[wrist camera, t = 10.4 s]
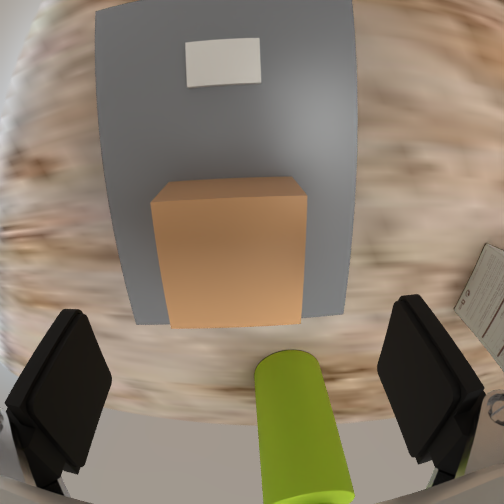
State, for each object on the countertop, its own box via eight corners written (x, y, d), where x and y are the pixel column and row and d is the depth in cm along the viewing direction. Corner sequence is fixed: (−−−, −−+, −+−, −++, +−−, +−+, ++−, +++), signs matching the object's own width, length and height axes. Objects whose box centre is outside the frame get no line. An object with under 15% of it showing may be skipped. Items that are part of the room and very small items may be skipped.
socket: (113, 22, 15) (90, 7, 11) (336, 9, 15) (356, -10, 12) (146, 300, 23) (133, 331, 20) (332, 291, 24) (346, 321, 20)
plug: (177, 172, 19) (150, 202, 13) (284, 167, 19) (307, 195, 13) (187, 267, 22) (171, 328, 16) (283, 263, 22) (300, 323, 16)
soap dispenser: (336, 348, 26) (408, 572, 8) (302, 398, 29) (338, 592, 11) (273, 334, 25) (312, 597, 7) (244, 388, 28) (256, 602, 10)
